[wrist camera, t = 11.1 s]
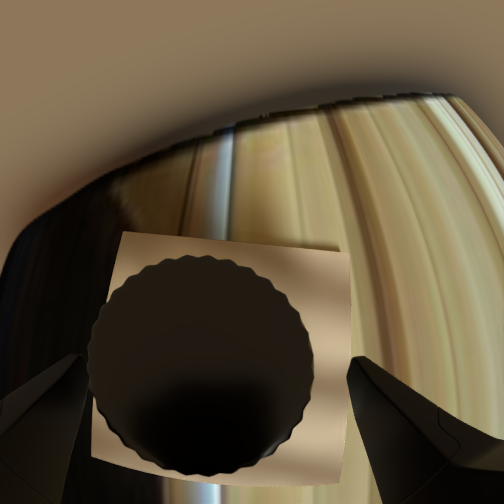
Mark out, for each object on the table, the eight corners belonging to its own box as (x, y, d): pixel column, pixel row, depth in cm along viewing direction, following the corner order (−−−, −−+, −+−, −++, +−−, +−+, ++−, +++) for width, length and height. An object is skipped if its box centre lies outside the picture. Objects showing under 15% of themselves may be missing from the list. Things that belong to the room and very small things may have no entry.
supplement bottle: (141, 351, 16) (10, 307, 5) (231, 290, 18) (232, 159, 7) (208, 443, 14) (171, 554, 3) (300, 377, 16) (418, 378, 5)
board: (334, 478, 14) (340, 483, 13) (97, 453, 14) (90, 456, 13) (344, 258, 21) (349, 252, 20) (127, 237, 20) (122, 230, 19)
